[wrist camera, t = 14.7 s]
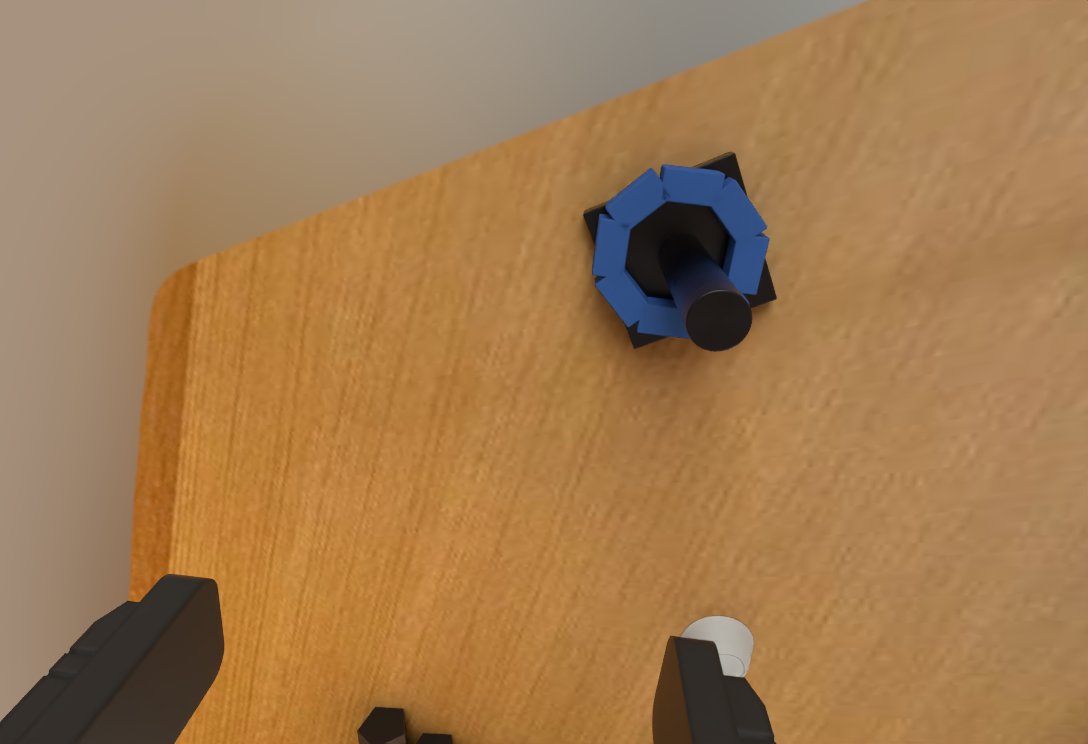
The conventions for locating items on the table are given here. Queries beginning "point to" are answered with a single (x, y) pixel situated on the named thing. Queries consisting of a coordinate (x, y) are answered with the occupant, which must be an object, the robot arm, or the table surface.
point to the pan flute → (392, 729)
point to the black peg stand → (690, 268)
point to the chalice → (725, 642)
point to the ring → (644, 200)
